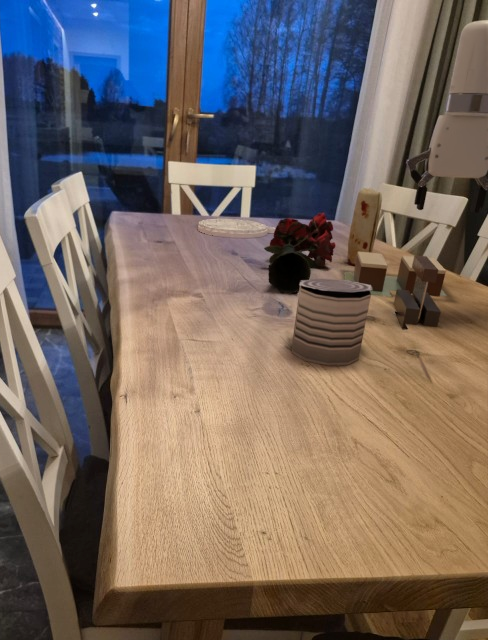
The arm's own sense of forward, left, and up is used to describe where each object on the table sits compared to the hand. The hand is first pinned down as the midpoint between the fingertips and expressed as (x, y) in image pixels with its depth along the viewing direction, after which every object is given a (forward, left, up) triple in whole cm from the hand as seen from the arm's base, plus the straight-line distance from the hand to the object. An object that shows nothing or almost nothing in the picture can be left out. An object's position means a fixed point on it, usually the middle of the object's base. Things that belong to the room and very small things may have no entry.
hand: (446, 210), depth 106 cm
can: (+20, +26, -21) cm, 39 cm away
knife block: (+2, +1, -21) cm, 21 cm away
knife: (+2, +1, -21) cm, 21 cm away
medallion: (+47, -82, -21) cm, 97 cm away
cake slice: (+9, -22, -20) cm, 31 cm away
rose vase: (+26, -26, -21) cm, 42 cm away
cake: (-3, -22, -20) cm, 30 cm away
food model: (+10, -44, -21) cm, 50 cm away
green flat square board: (+3, -22, -21) cm, 30 cm away
